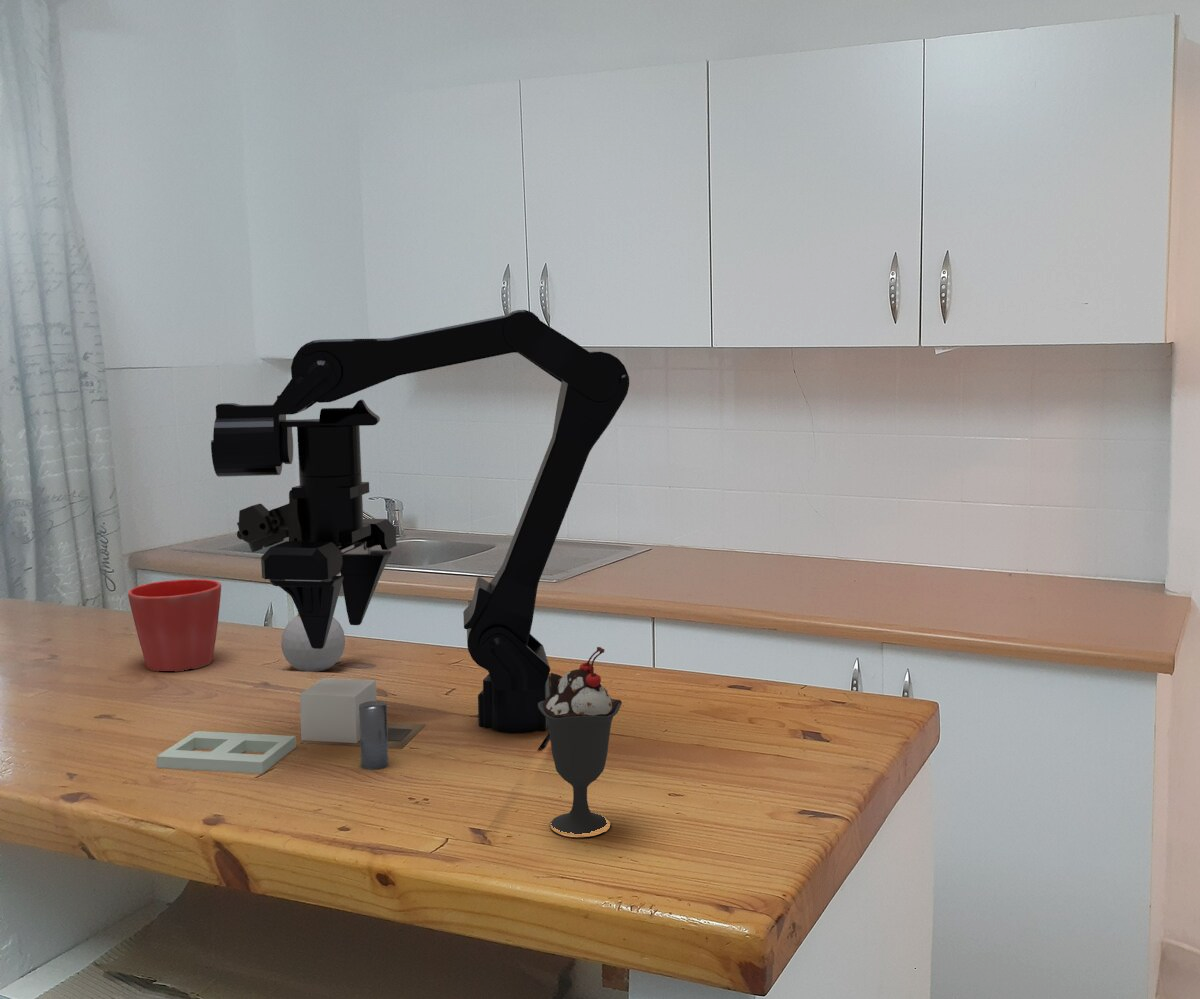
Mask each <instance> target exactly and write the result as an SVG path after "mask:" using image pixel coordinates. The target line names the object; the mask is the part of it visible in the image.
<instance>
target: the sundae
mask: <svg viewBox="0 0 1200 999" xmlns="http://www.w3.org/2000/svg"><path fill="white" fill-rule="evenodd" d="M598 652H599V653H598ZM603 653H605V648H602V647H601V646H597V647H596V651H595V652H593V653H592V654H591V656H590V657H589V659H588V660H587V661H586V662H583V663H581V664H580V665H579V668H578V669H574V670H570V671H568V672H566V673H565V675H563V676H562V675H560V674H557V673H553V672H551V673H549V674H550V675H549V697H547V698H546V700H545V701H541V702H539V703H538V708H539V710H540V711H541V712H542V714H543V715H544V716H546V717H547V722H548V731H549V732H548V733H550V740H549V741H550V747H551V755H552V759H553V763H554V767H555V770H556V772H557V773H558V774H559V776H560V777H561V778H562V779H563V780H564V781H565V782H567V783H568V784H569V785H571V787H572V792H573V793H572V794H573V798H572V799H573V800H572V806H571V810H570V811H569V812H568V813H563V814H560V815H558V816H555V817H554V818H553V819H552V820H551V822H550V823H552V824H551V825H552V826H553V828H554V827H555V828H556V829H558V830H560V832H561V831H563V832H567V833H570V832H572V833H574V834H582V833H590V832H591V831H595V830H597V829H600V828H602V827H604V826H605V825H606V824H607V823H606V820H605V818H604V817H602V816H601V814H600V815H598V814H599V813H596V812H592V811H591V810H590V806H589V802H588V787H589V786H590V784H592V783H593V782H595V781H596V780H597V779H598V778H599V777H600V776H601V774H602V773H603V772H604V770H605V765H606V763H607V758H608V751H609V743H610V736H611V735H610V734H611V728H612V722H613V718H614V717H615V716H616V715H617V714H618V712H619V711H620V708H622V707H621V706H622V703H623V702H622V700H621V699H617V698H612V697H611V696H610V694H609V692H608V691H607V689H606V688H605V687H604V686H603V685H602V684H601V681H602V677H601V675H599V674H597V673H595V672H594V670H595V668H594V662H595V661H596V659H597V658H598V657H599V656H600V655H601V654H603ZM596 654H597V655H596ZM592 658H593V659H592ZM591 660H592V661H591ZM590 661H591V662H590ZM595 813H596V814H595Z"/></svg>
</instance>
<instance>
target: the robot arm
mask: <svg viewBox="0 0 1200 999" xmlns="http://www.w3.org/2000/svg"><path fill="white" fill-rule="evenodd" d="M512 353H515V354H519V355H521V356H522V357H523V358H525V359H527V360H528V361H529V362H530V363H532V364H534V365H535V366H537V367H538V368H540V370H542V371H544V372H545V373H547V374H548V375H550V376H552V377H553V378H554V379H555V380H557V381H558V382H560V388H559V393H558V398H557V403H556V409H555V414H554V415H555V416H554V423H553V429H552V430H553V431H552V436H551V439H550V441H549V444H548V446H547V448H546V449H547V450H546V452H545V454H544V456H543V460H542V462H541V464H540V467H539V470H538V473H537V475H536V477H535V480H534V483H533V484H532V487H531V490H530V493H529V496H528V497H527V501H526V503H525V506H524V508H523V511H522V512H521V517H520V519H519V520H518V523H517V526H516V528H515V531H514V534H513V537H512V539H511V541H510V543H509V547H508V549H507V552H506V555H505V557H504V560H503V562H502V564H501V566H500V568H499V569H498V571H497V572H496V573H495V575H494V576H493V577H492V579H491V580H490V582H489V581H488V580H486V579H484V578H482V577H481V576H478V577H477V578H476V582H475V587H474V592H473V596H472V599H471V601H470V602H469V604H468V606H467V607H466V608H465V609H464V610H463V612H462V614H463V629H464V630H466V640H467V645H466V646H467V651H468V653H469V655H470V657H471V659H472V661H474V662H475V664H476V665H477V666H479V667H480V668H482V669H484V670H486V671H488V674H487V675H486V676H485V677H484V678H483V680H482V689H481V691H480V692H479V693H478V695H477V714H478V715H477V716H478V719H477V720H478V727H479V728H483V729H488V730H489V729H491V730H493V731H495V732H497V733H500V734H501V733H502V734H511V735H512V734H514V735H516V734H518V735H521V734H530V733H534V732H546V731H547V730H549V727H548V722H547V717H546V716H544V715H543V714H542V712H541V711H540V710H539V708H538V703H539V702H541V701H545V700H546V698H547V697H549V675H550V674H551V673H550V672H551V667H550V664H549V660H548V658H547V653H546V651H545V647H544V645H543V644H542V643H541V642H540V640H538V639H537V638H535V637H534V635H532V634H531V631H532V625H533V622H534V621H533V620H534V614H535V608H536V607H535V606H536V600H537V599H536V598H537V592H538V587H539V583H540V579H541V578H542V575H543V573H544V570H545V567H546V565H547V562H548V560H549V558H550V554H551V552H552V550H553V546H554V544H555V542H556V539H557V536H558V534H559V531H560V529H561V526H562V523H563V521H564V519H565V517H566V513H567V511H568V508H569V506H570V503H571V501H572V499H573V496H574V493H575V490H576V488H577V485H578V483H579V480H580V478H581V475H582V473H583V469H584V468H585V466H586V465H585V464H586V463H587V460H588V457H589V455H590V452H591V451H592V449H593V448H594V446H595V444H596V443H597V442H598V440H599V439H600V438H601V436H602V435H603V433H604V432H605V431H606V430H607V428H608V427H609V425H610V424H611V422H612V420H613V419H614V417H615V416H616V414H617V412H618V410H619V409H620V408H621V405H622V404H623V403H624V401H625V399H626V397H627V396H628V392H629V388H630V376H629V373H628V371H627V369H626V366H625V365H624V363H622V361H621V359H619V358H618V357H616V356H615V355H613V354H612V353H609V352H605V351H589V350H587V349H585V348H584V347H583V346H581V345H579V344H578V343H576V342H575V341H574V340H572V339H570V338H569V337H566V336H565V334H564V335H563V334H562V333H561V332H559V331H557V330H556V329H554V328H552V327H551V326H549V325H548V324H546V323H545V322H543V321H542V320H540V318H539V317H538V316H537V315H536V314H535V313H534V312H532V311H529V310H527V309H516V310H514V311H512V312H510V313H507V314H505V315H500V316H495V317H490V318H485V319H480V320H474V321H470V322H464V323H460V324H454V325H449V326H444V327H440V328H435V329H429V330H425V331H420V332H419V331H418V332H415V333H409V334H405V335H400V336H393V337H389V338H388V337H385V338H336V339H335V338H333V339H329V338H328V339H327V338H326V339H315V340H311V341H309V342H306V343H304V344H303V345H302V346H300V347H299V349H298V350H297V352H296V353H295V355H294V357H293V358H292V362H291V367H290V373H291V379H290V380H289V382H288V383H287V385H286V387H285V388H284V389H283V390H282V391H281V393H280V394H279V395H277V396H276V400H275V402H274V403H273V404H239V403H235V402H234V403H233V402H230V403H229V402H228V403H227V402H226V403H225V402H224V403H218V404H216V406H215V419H214V424H213V432H212V433H213V434H212V437H213V439H212V440H210V448H211V449H210V451H211V459H212V460H211V461H212V465H213V470H214V473H215V475H216V476H217V477H219V478H220V477H221V478H223V477H259V476H260V477H261V476H280V475H281V474H282V469H283V464H284V465H292V463H293V460H294V437H293V436H294V435H293V428H296V432H297V434H296V435H297V454H298V456H297V458H298V475H299V476H298V478H299V485H295V486H293V487H291V489H290V490H289V492H288V500H289V501H288V503H287V504H284V505H281V506H279V507H278V506H277V507H276V508H272V509H270V510H268V508H267V507H266V506H264V505H263V504H262V503H256V504H254V505H251V506H248V507H245V508H242V509H240V510H239V512H238V522H236V525H237V527H238V530H237V531H236V537H237V538H238V540H243V542H246V543H248V545H249V548H250V551H251V552H252V553H255V552H258V551H261V550H263V549H264V548H268V549H267V550H266V551H265V552H264V553H263V555H262V556H261V557H260V562H261V578H262V579H263V580H269V583H271V585H272V586H274V587H279V588H280V589H282V590H283V591H284V592H285V593H287V594H288V595H289V596H290V597H291V599H292V601H293V604H294V606H295V608H296V611H297V614H298V613H299V615H300V618H301V621H302V623H303V626H304V629H305V631H306V634H307V637H308V639H309V642H310V645H311V647H312V648H314V649H322V648H324V646H325V643H326V640H327V637H328V633H329V630H330V626H331V622H332V618H333V617H334V614H335V610H336V606H337V603H338V598H339V597H340V596H339V592H340V588H341V585H343V591H344V596H343V598H344V603H345V609H346V614H347V619H348V623H349V625H351V626H360V625H362V623H363V620H364V618H365V615H366V614H367V610H368V609H369V605H370V604H371V601H372V598H373V595H374V592H375V591H376V588H377V585H378V583H379V581H380V579H381V577H382V574H383V572H384V569H385V567H386V565H387V563H388V560H389V558H390V557H391V556H392V550H390V549H392V548H395V547H396V546H397V528H396V526H395V525H394V524H393V523H392V522H391V521H389V519H387V518H364V504H363V503H364V502H363V495H366V494H368V493H370V482H369V481H362V476H363V475H362V457H361V454H362V453H361V436H360V435H361V432H360V431H361V430H360V427H361V426H364V427H365V426H368V427H369V426H376V425H377V424H379V422H380V420H381V417H380V416H379V415H377V414H376V413H375V412H374V411H372V410H371V409H370V408H369V407H368V405H367V403H366V401H365V400H364V399H359V400H358V401H356V403H355V404H354V405H353V407H327V408H325V407H324V408H323V407H322V408H321V409H320V412H319V418H312V419H311V418H310V419H308V418H307V419H306V418H304V419H287V415H290V416H291V415H297V414H298V413H302V412H303V411H307V409H309V408H311V407H312V406H314V404H316V403H320V404H322V403H331V402H336V401H338V400H341V399H343V398H345V397H348V396H351V395H353V394H355V393H358V392H361V391H363V390H365V389H368V388H371V387H374V386H376V385H379V384H381V383H384V382H386V381H388V380H391V379H394V378H397V377H399V376H404V375H409V374H413V373H419V372H424V371H430V370H433V369H438V368H439V369H440V368H443V367H449V366H453V365H459V364H463V363H468V362H474V361H478V360H483V359H490V358H493V357H498V356H503V355H508V354H512ZM286 538H288V540H287V541H285V539H286ZM379 546H380V548H381V550H380V549H379ZM340 573H341V576H336V575H338V574H340ZM549 741H550V733H549V732H548V733H547V735H546V736H545V738H544V740H543V741H541V742H542V743H541V744H540V746H539V747H538V750H543V749H545V748H546V747H547V745H548V743H549Z"/></svg>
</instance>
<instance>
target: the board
mask: <svg viewBox="0 0 1200 999" xmlns="http://www.w3.org/2000/svg"><path fill="white" fill-rule="evenodd" d="M425 726H427V725H426V724H423V723H405V722H387V734H388V749H401V750H402V749H404V747H406V746H407V745H408V744H409V743H410V742H411V740H413V739H414V737H416V736H417V735H418V734H419V733H420V732H421V730H422V729H423V728H424V727H425ZM300 744H304V745H306V744H307V745H322V746H323V745H325V746H342V747H344V746H345V747H346V746H347V747H358V748H359V747H360V740H359V741H358V742H357V743H346V742H327V741H308V740H301V742H300Z"/></svg>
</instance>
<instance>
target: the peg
mask: <svg viewBox="0 0 1200 999" xmlns="http://www.w3.org/2000/svg"><path fill="white" fill-rule="evenodd" d="M387 707H388V706H387V702H385V701H382V700H381V701H380V700H376V701H369V702H364V703H361V704H360V705H359V721H360V748H359V749H360V750H359V751H360V767H361V769H362V770H368V771H378V770H382V769H385V768H387V767H388V766H389V748H388V734H387V723H388V712H387V711H388V709H387Z"/></svg>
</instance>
